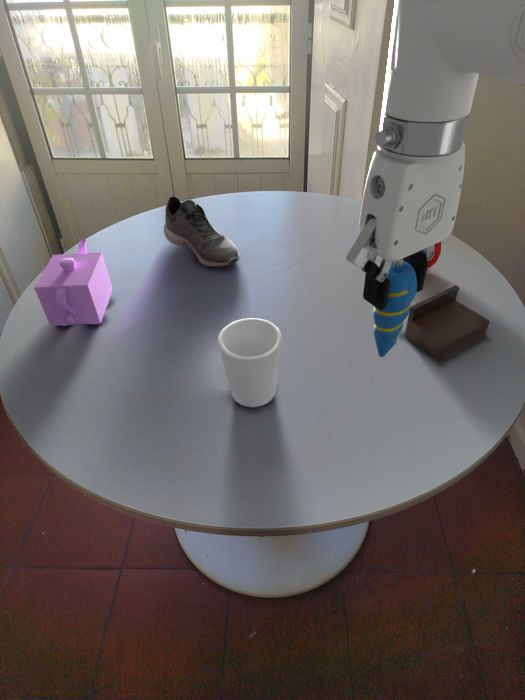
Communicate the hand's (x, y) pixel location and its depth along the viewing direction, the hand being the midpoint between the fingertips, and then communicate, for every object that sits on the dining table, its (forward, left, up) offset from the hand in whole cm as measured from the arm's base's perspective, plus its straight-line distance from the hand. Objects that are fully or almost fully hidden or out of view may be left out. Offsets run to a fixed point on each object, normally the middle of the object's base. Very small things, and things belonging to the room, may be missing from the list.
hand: (392, 293), depth 55 cm
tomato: (+30, -40, -27) cm, 57 cm away
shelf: (+9, -28, -27) cm, 40 cm away
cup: (+17, +10, -27) cm, 34 cm away
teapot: (+59, +27, -27) cm, 70 cm away
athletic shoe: (+65, -5, -27) cm, 71 cm away
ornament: (0, 0, -10) cm, 10 cm away
